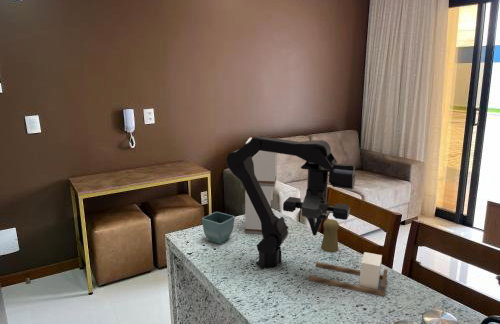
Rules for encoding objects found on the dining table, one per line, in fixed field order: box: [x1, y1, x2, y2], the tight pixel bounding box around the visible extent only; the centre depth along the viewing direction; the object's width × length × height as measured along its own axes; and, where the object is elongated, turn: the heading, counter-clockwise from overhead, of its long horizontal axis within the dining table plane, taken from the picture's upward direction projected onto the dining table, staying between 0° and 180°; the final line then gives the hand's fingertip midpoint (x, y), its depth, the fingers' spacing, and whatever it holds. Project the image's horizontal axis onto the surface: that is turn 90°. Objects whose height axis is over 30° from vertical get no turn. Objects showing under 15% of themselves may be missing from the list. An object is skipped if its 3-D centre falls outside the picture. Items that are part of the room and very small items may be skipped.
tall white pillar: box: [244, 137, 278, 236], centre depth 149 cm, size 11×11×35 cm
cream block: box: [358, 251, 383, 290], centre depth 112 cm, size 5×7×8 cm
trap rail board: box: [308, 261, 388, 297], centre depth 115 cm, size 21×16×4 cm
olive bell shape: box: [320, 218, 340, 253], centre depth 134 cm, size 6×6×11 cm
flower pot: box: [201, 211, 236, 245], centre depth 142 cm, size 9×9×9 cm
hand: (314, 235), depth 116 cm, fingers closed
